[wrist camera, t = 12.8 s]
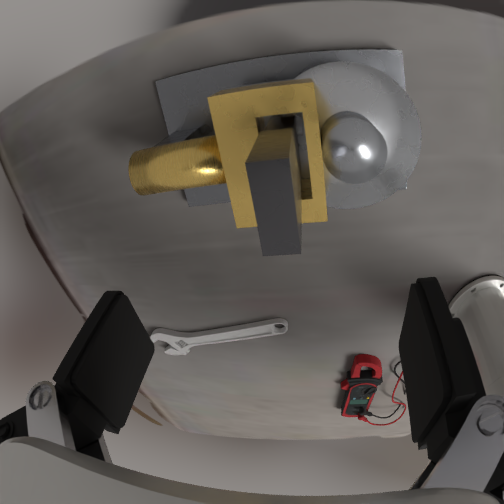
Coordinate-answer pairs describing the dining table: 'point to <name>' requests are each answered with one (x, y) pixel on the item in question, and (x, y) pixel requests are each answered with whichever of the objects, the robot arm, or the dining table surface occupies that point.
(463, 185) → the dining table surface
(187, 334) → the adjustable wrench
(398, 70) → the multicoloured piece
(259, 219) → the wedge
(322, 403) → the dining table surface
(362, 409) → the digital clamp meter
